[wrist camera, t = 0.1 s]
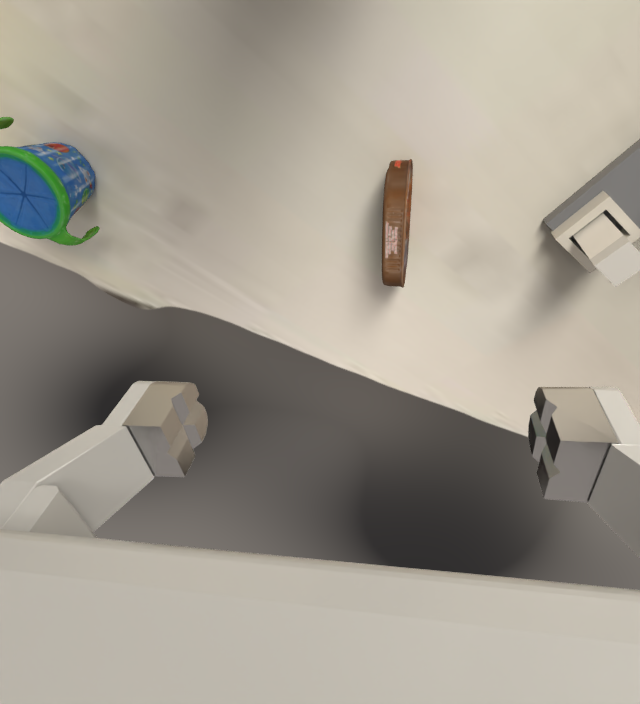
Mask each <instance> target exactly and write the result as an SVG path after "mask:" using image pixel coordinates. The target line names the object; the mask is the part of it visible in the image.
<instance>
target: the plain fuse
mask: <svg viewBox="0 0 640 704" xmlns="http://www.w3.org/2000/svg"><path fill="white" fill-rule="evenodd" d="M573 237H574V238H575V239H576V241H577V242H578V244H579V245H580V246H581V248H582V249H583V251H584V252H585V253H586V255H587V256H588V258H589V259H590V260H591V262H592V263H593V265H594V266H595V267H596V268H597V269H598V270H599V271H600V272H601V273H602V274H603V275H604V276H605V277H606V278H607V279H608V280H609V281H610V282H611V283H612V284H613V285H614V286H615V287H616V286H618V285H619V284H621V283H622V282H624V281H625V280H627V279H628V278H630V277H631V276H633V275H634V274H636V273H637V272H639V271H640V252H639V251H638V250H637V249H636V248H635V247H634V245H633V244H632V243H631V242H630V241H629V240H628V239H627V238H626V237H625V236H624V235H623V234H622V233H621V232H620V231H619V230H618V228H617V227H616V226H615V225H614V224H613V223H612V222H611V221H610V220H609V219H608V218H607V217H606V216H605V215H604V214H603V213H601V214H600V215H598V216H597V217H596V218H594V219H593V220H592V221H591V222H589V223H588V224H587V225H585V226H584V227H583V228H582V229H580V230H579V231H578V232H576V233H575V234H574V235H573Z"/></svg>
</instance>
